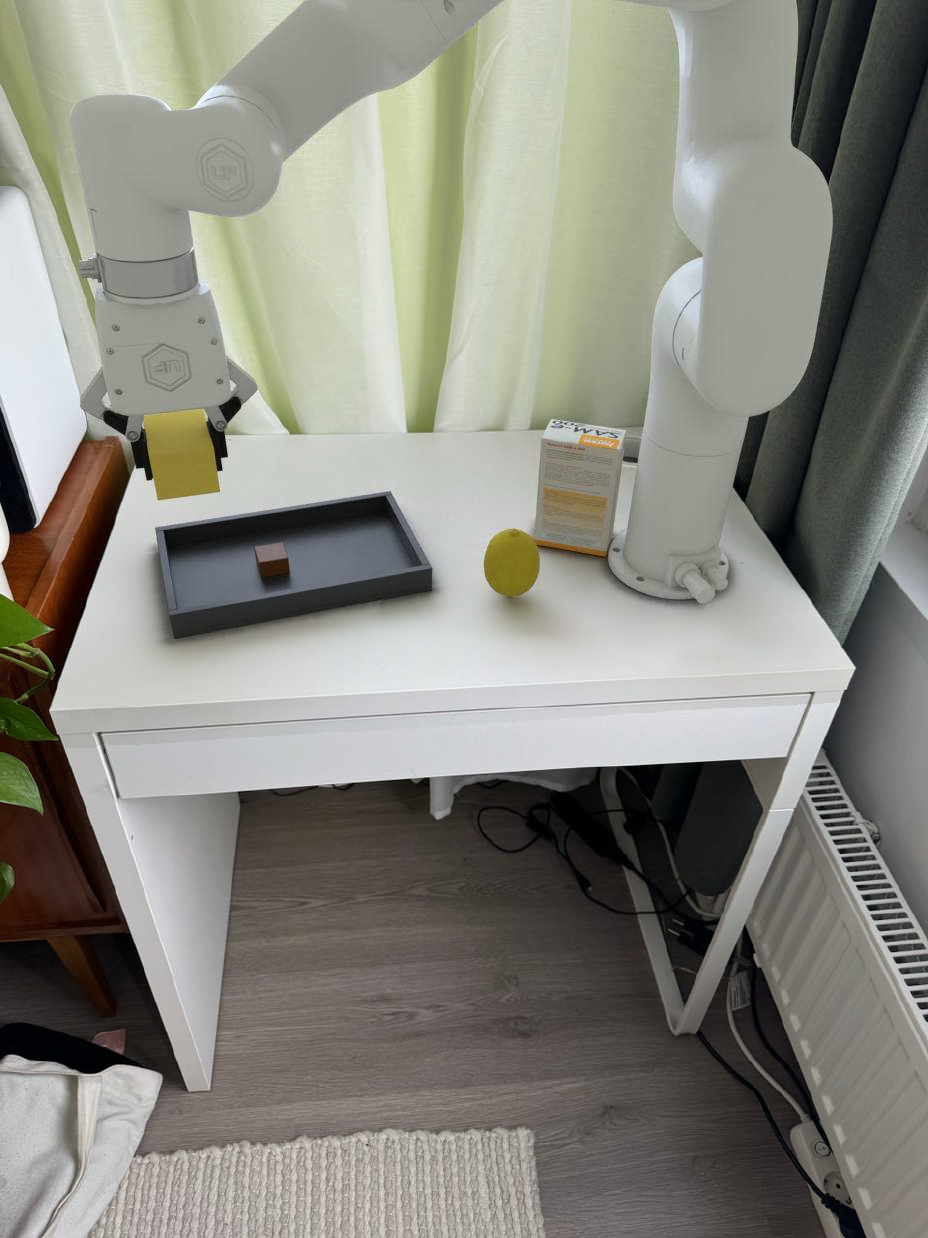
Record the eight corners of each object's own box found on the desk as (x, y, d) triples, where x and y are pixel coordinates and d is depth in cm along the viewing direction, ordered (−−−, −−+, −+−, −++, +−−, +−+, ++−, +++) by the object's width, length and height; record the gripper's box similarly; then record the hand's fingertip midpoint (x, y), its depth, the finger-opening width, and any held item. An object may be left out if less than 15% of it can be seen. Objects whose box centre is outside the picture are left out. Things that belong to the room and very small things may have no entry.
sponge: (220, 492, 84) (213, 448, 82) (157, 500, 83) (148, 456, 80) (209, 451, 90) (202, 408, 87) (150, 458, 89) (142, 415, 86)
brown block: (290, 573, 95) (288, 557, 94) (261, 578, 94) (258, 562, 93) (284, 557, 97) (283, 541, 96) (256, 562, 97) (253, 546, 95)
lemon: (521, 619, 91) (527, 552, 86) (472, 601, 93) (475, 535, 88) (545, 590, 95) (552, 524, 90) (498, 573, 97) (501, 508, 92)
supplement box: (613, 535, 103) (629, 428, 95) (606, 559, 100) (622, 449, 91) (541, 522, 105) (551, 416, 97) (531, 544, 101) (540, 436, 93)
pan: (432, 590, 94) (432, 568, 93) (174, 638, 88) (168, 615, 86) (391, 511, 106) (390, 490, 104) (159, 549, 99) (154, 527, 97)
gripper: (34, 295, 70) (87, 502, 81) (263, 278, 74) (283, 476, 86) (35, 263, 75) (84, 461, 86) (249, 249, 80) (269, 438, 91)
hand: (183, 467), depth 86 cm, fingers closed on sponge, 5 cm apart
